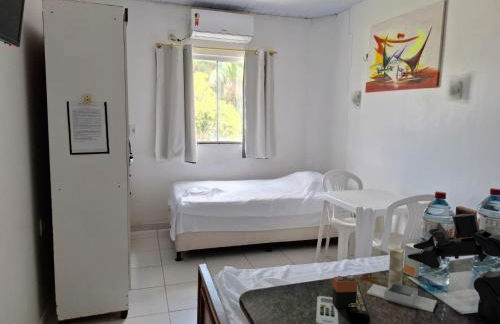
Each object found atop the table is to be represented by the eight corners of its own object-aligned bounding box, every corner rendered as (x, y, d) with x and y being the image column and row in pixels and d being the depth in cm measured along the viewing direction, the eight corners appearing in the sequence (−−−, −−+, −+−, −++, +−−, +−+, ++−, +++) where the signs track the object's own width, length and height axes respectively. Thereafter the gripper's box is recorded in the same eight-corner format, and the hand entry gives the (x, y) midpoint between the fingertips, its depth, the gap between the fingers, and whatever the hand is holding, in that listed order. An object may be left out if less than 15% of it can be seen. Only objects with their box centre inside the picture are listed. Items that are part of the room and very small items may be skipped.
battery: (356, 308, 115) (357, 278, 114) (336, 309, 114) (337, 279, 114) (351, 301, 119) (352, 273, 118) (331, 302, 119) (333, 273, 118)
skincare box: (402, 272, 145) (404, 244, 144) (410, 270, 147) (411, 242, 146) (415, 278, 140) (417, 248, 139) (422, 276, 142) (424, 247, 141)
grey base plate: (436, 302, 120) (437, 293, 120) (432, 313, 113) (432, 304, 113) (373, 285, 132) (374, 277, 132) (366, 294, 125) (366, 286, 125)
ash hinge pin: (402, 285, 133) (404, 249, 131) (399, 289, 129) (401, 252, 128) (390, 282, 135) (392, 247, 134) (388, 286, 132) (390, 250, 130)
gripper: (456, 214, 123) (409, 221, 132) (449, 233, 108) (397, 239, 117) (465, 245, 123) (418, 249, 132) (460, 268, 108) (407, 270, 117)
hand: (410, 251), depth 125 cm, fingers open, 9 cm apart
